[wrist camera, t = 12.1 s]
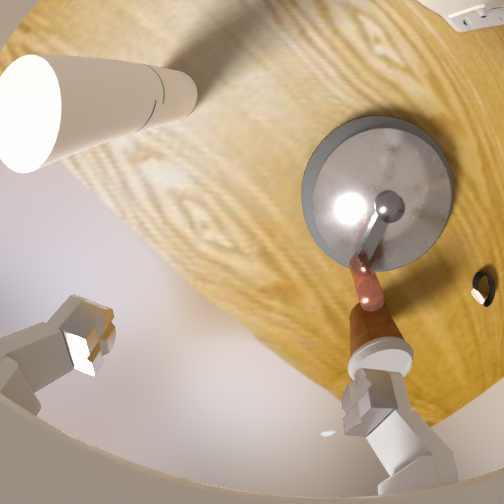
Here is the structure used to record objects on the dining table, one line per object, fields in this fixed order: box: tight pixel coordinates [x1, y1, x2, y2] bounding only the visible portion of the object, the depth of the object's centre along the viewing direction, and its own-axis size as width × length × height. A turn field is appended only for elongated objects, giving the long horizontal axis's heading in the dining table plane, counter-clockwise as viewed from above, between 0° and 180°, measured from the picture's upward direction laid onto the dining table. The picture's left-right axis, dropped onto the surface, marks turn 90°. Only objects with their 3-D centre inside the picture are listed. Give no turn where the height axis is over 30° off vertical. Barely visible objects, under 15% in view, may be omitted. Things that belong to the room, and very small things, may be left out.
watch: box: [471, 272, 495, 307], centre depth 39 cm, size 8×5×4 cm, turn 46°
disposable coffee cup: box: [348, 303, 413, 380], centre depth 41 cm, size 10×10×12 cm
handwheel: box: [313, 128, 451, 311], centre depth 31 cm, size 19×18×10 cm
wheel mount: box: [301, 116, 454, 272], centre depth 36 cm, size 21×21×2 cm
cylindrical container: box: [0, 55, 198, 173], centre depth 23 cm, size 7×7×25 cm
